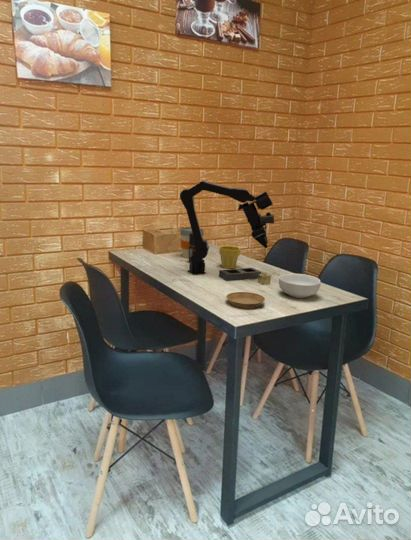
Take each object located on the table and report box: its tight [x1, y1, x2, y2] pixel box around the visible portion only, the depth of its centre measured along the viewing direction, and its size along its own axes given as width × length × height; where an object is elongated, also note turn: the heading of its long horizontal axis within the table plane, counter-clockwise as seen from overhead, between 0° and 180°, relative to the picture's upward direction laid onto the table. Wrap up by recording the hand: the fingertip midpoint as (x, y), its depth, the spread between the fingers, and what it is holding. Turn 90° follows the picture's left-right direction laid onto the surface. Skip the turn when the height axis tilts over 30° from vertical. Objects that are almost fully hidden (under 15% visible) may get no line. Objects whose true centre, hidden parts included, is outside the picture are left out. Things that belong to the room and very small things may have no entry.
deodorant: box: [187, 233, 195, 264], centre depth 232 cm, size 6×6×15 cm
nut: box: [257, 273, 272, 286], centre depth 202 cm, size 4×4×4 cm
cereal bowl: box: [278, 273, 321, 299], centre depth 187 cm, size 17×17×7 cm
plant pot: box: [218, 245, 241, 269], centre depth 228 cm, size 10×10×10 cm
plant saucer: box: [225, 291, 266, 309], centre depth 174 cm, size 15×15×3 cm
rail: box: [218, 267, 263, 282], centre depth 210 cm, size 18×8×3 cm, turn 117°
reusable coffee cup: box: [179, 226, 204, 259], centre depth 244 cm, size 13×12×15 cm
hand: (266, 245), depth 209 cm, fingers open, 9 cm apart
